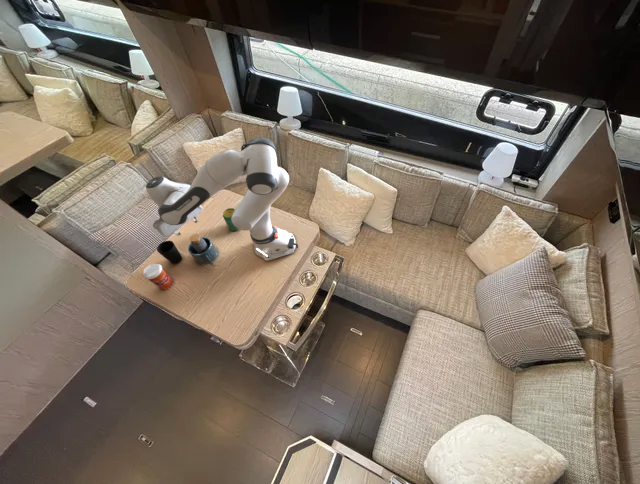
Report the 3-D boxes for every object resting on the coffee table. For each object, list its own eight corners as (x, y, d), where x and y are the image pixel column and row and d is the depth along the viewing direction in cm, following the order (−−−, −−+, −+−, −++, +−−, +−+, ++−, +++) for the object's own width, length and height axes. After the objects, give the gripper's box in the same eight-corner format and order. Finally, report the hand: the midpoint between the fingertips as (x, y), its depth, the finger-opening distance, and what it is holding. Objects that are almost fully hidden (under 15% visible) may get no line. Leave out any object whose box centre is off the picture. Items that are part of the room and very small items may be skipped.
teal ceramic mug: (192, 254, 148) (184, 244, 141) (212, 243, 153) (206, 233, 146) (203, 272, 142) (196, 263, 135) (224, 260, 147) (218, 251, 140)
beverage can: (244, 220, 165) (238, 206, 155) (242, 230, 160) (236, 217, 150) (230, 221, 164) (223, 207, 155) (227, 231, 159) (220, 218, 150)
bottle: (209, 258, 146) (198, 242, 135) (198, 258, 146) (186, 242, 134) (213, 249, 150) (202, 233, 138) (202, 249, 150) (191, 232, 138)
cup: (178, 267, 143) (167, 254, 134) (165, 264, 144) (153, 251, 135) (187, 254, 148) (177, 242, 139) (174, 252, 149) (163, 239, 139)
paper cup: (164, 294, 133) (148, 280, 123) (154, 286, 136) (138, 272, 125) (178, 281, 138) (164, 267, 127) (168, 274, 140) (154, 259, 130)
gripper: (155, 227, 113) (171, 246, 124) (198, 197, 124) (209, 217, 135) (146, 220, 115) (163, 239, 126) (189, 192, 126) (201, 212, 137)
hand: (187, 228), depth 130 cm, fingers open, 8 cm apart
